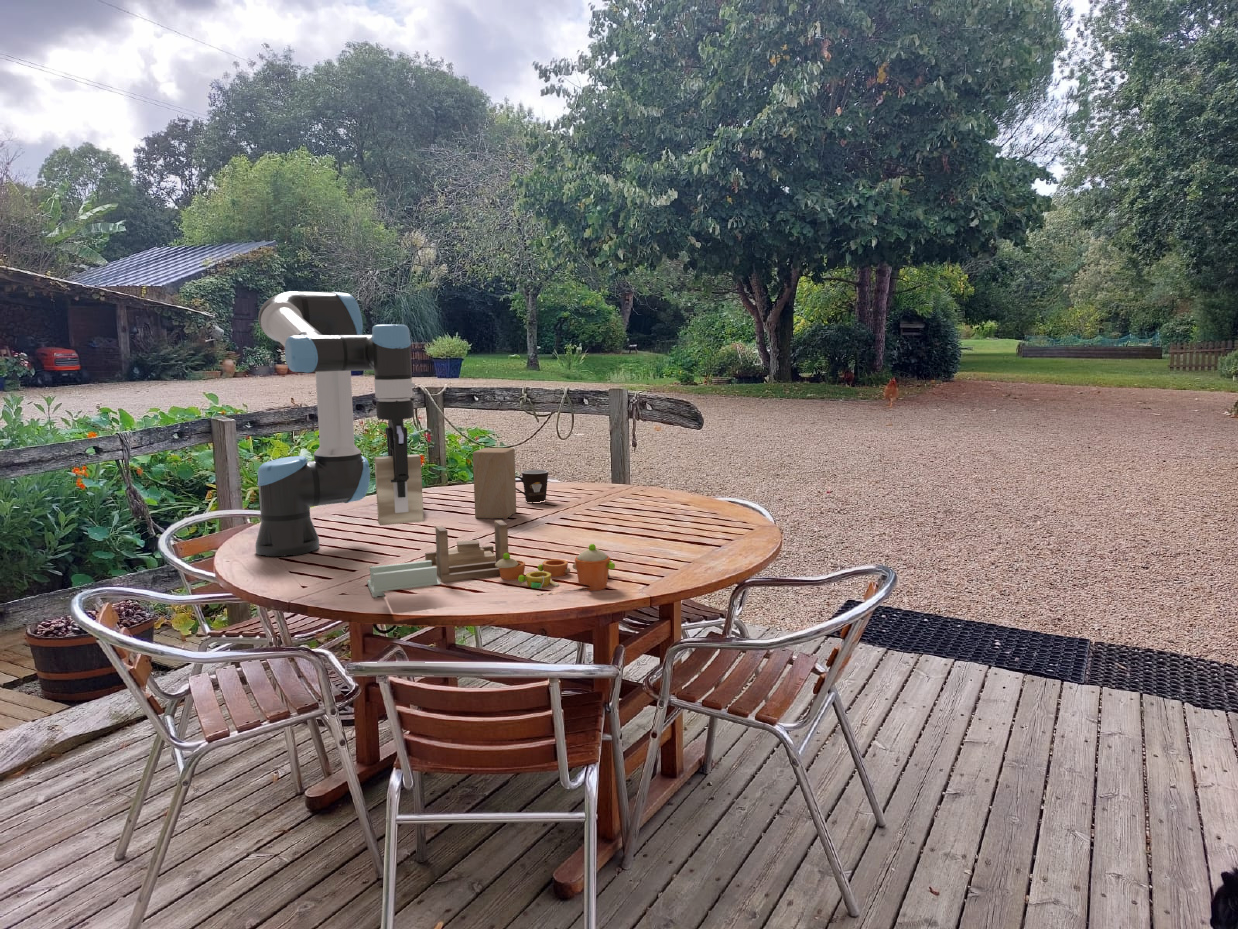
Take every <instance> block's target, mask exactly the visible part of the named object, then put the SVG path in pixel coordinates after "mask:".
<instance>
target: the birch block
mask: <svg viewBox="0 0 1238 929" xmlns="http://www.w3.org/2000/svg"><path fill="white" fill-rule="evenodd" d="M407 455H408V475H409V479H408V480H407V490H408V510H409V512H401V513H395V504H394V485H393V483H391V480H394V467H393V456H388V455H386V456H385V455H384V456H374V472H375V473H374V474H375V491H376V493H375V494H376V506H377V508H376V510H377V523H378V525H379V526H390V525H399V524H411V523H421V522H425V521H424V501H423V500H424V497H422V496H423V480H422V479H423V478H422V477H423V476H422V460H421V459H422V458H421V457H422V456H421V455H419V454H407Z"/></svg>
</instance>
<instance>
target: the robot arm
mask: <svg viewBox="0 0 1238 929" xmlns="http://www.w3.org/2000/svg"><path fill="white" fill-rule="evenodd" d="M257 318H258V325H259V327H260V329H261V331H262V332H263V333H264V334H265V335H266V336H267V337H268V338H270V339H271V340H272V341H275V342H279V343H280V344H281V345H282V346H283V347H284V354H285V356H284V358H285V361H286V365H287V368H288V370H290V371H291V372H293V373H306V374H309V373H315V387H316V403H317V404H316V405H317V419H318V420H317V421H318V439H319V447H318V448H317V449H316V450H315V451H314V453H313V460H309V461H308V459H307V457H306V456H303V455H296V456H295V455H294V456H287V457H285V456H284V457H282V458H281V457H280V458H276V459H272V460H268V461H266V462H264V463H262V464H261V465H260V466H259V467H258V469H257V486H258V495H259V496H258V497H259V508H260V509H259V511H260V512H259V513H260V526H259V530H258V533H257V538H256V541H255V554H256V555H257V556H258V555H259V556H261V555H266V556H265V557H269V556H281V557H285V556H284V555H293V556H299V555H303V554H307V553H312V552H314V551H317V550H318V549H319V548H320V538H319V535H318V533H317V530H316V528H315V526H314V523H313V521H312V518H311V510H310V509H311V507H318V506H319V507H320V506H327V505H335V504H349V503H352V502H358V501H361V500H363V499H364V498H365V496H366V495H367V493H368V490H369V486H370V481H371V471H370V463H369V460H368V458H366V456H363V455H362V451H361V449H360V448H358V447H357V446H356V445H355V429H354V428H355V427H354V426H355V424H354V412H353V411H354V409H353V391H352V390H353V389H352V388H353V387H352V371H355V372H356V371H361V372H362V371H374V373H373V374H374V380H373V381H374V395H375V399H377V400H378V401H376V403H375V407H376V408H375V411H376V418H377V419H378V420H383V421H387V422H388V424H387V425H388V426H387V427H385V430H384V431H385V435H386V445H387V447H386V448H387V456H393V467H394V480H391V483H393V485H394V504H395V513H401V512H409V510H408V490H407V480H408V479H409V475H408V455H409V454H408V437H409V435H408V428H407V427H406V426H404V425H405V424H404V420H409V419H412V418H414V416H415V412H414V401H413V400H412V399H411V398H413V388H415V387H416V384H415V383H414V382H413V379H412V378H413V375H412V374H413V372H412V350H411V349H412V348H411V347H412V346H411V345H412V340H411V334H410V328H409V327H408V325H406V324H376V325H374V326H372V329H371V331H372V332H371V334H363V330H364V326H363V325H364V324H363V316H362V313H361V309H360V306H359V303H358V302H357V300H356V299H355V297H354V296H353V295H352V294H351V293H347V292H339V291H295V290H294V291H293V290H292V291H291V290H289V291H285V292H281V293H278V294H276V295H273V296H272V297H270V298H268V299H266V301H265V302H264V303H263V304H262V305H261V307H260V310H259V312H258V317H257ZM311 551H312V552H311Z"/></svg>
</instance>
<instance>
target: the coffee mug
mask: <svg viewBox="0 0 1238 929" xmlns="http://www.w3.org/2000/svg"><path fill="white" fill-rule="evenodd" d="M521 476H522V477H521ZM521 476H519V475H515V479H519V480H520V481H521V482H522V485H523V490H524V491H522V490H520V489H519V488H517V487H516V492H517V491H518V492H519V493H520V494H523V495H524V498H525V502H526V501H527V502H540V501H544V500H547V490H548V480H549V479H548V478H549V470H546V469H528V470H527V469H526V470H523V471H521Z"/></svg>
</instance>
